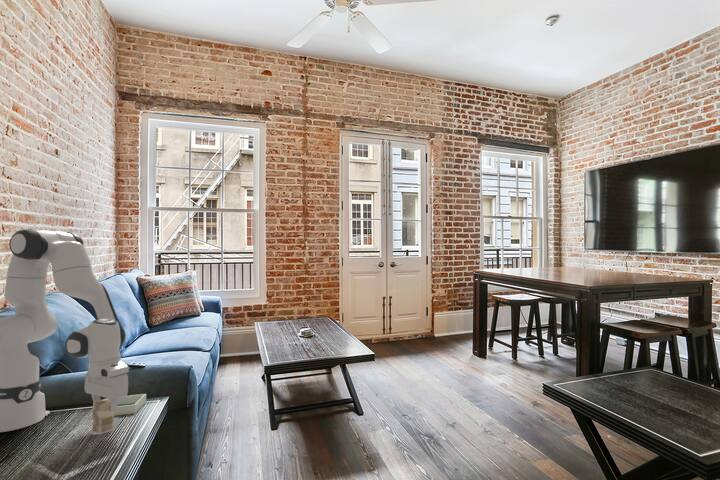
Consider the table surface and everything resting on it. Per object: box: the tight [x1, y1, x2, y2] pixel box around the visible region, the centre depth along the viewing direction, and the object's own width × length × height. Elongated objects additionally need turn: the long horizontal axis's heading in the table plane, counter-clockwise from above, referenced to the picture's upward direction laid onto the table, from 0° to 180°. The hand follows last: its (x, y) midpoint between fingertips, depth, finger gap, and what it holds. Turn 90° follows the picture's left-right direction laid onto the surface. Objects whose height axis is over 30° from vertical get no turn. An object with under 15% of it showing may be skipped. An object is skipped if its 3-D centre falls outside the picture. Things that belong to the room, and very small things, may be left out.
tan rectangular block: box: [92, 398, 115, 433], centre depth 123 cm, size 4×4×9 cm
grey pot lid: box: [88, 423, 119, 436], centre depth 123 cm, size 8×8×4 cm
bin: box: [114, 393, 147, 417], centre depth 140 cm, size 12×12×4 cm
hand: (105, 409), depth 123 cm, fingers open, 8 cm apart
